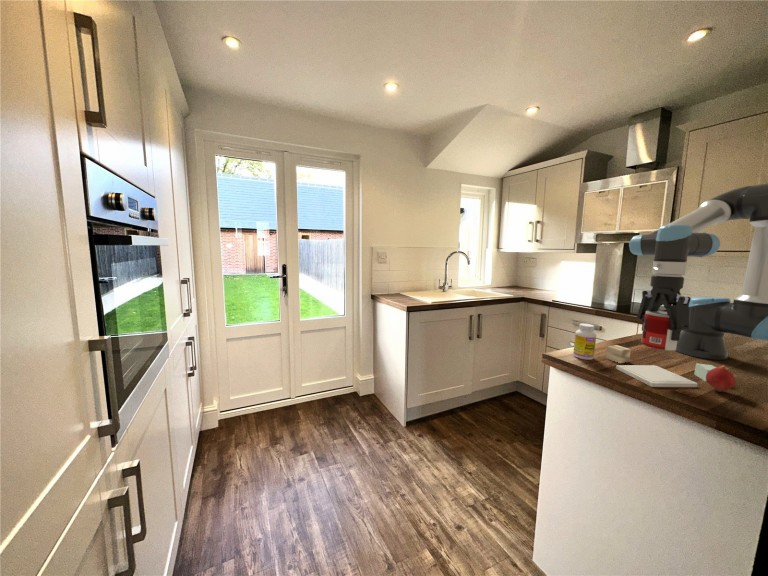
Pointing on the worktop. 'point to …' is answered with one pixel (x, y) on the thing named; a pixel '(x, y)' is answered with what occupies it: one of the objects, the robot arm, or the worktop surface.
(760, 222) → the robot arm
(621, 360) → the beech block
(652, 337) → the canned food
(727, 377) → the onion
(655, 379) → the tray
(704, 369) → the sage block
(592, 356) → the supplement bottle
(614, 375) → the worktop surface
